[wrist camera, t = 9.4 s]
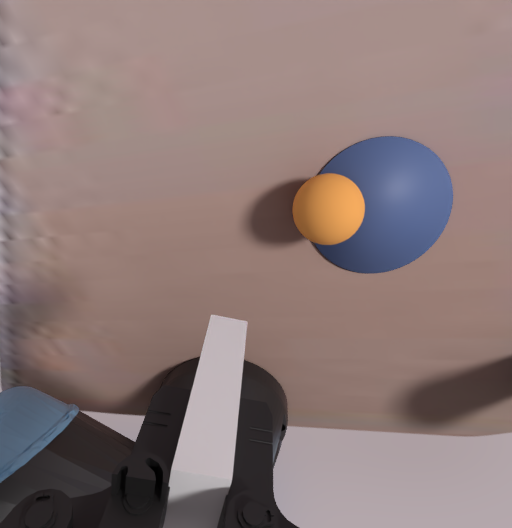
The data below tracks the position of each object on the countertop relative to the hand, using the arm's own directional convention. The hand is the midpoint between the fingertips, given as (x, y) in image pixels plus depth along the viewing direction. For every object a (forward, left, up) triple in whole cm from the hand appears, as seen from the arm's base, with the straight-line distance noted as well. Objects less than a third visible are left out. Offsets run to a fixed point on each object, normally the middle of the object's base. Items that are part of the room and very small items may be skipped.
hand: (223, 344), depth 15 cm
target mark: (+8, -7, -18) cm, 21 cm away
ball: (+5, -4, -15) cm, 16 cm away
